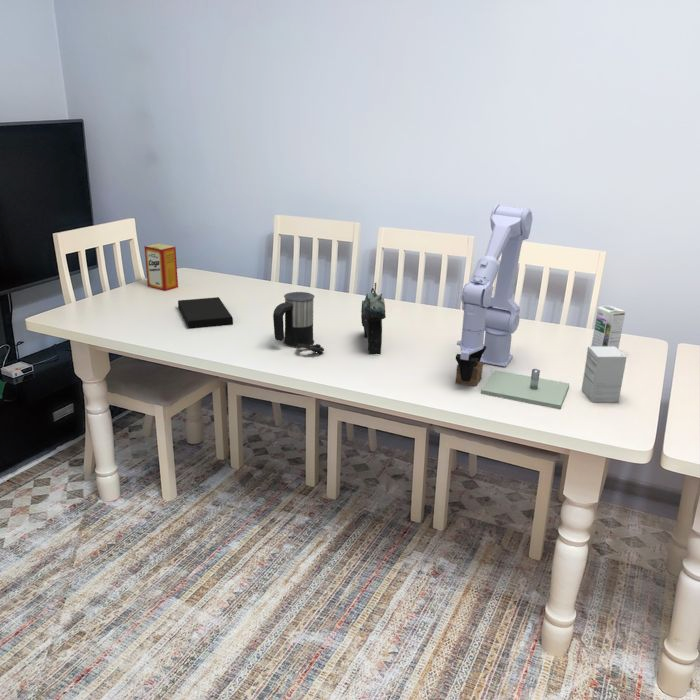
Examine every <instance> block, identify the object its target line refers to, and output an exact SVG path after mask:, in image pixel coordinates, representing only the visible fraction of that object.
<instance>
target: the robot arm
mask: <svg viewBox="0 0 700 700" xmlns="http://www.w3.org/2000/svg"><path fill="white" fill-rule="evenodd" d="M489 221H490V227H491V228H490V229H491V231H492V232H491V235H490V239H489V241H488V244H487V248H486V251H485V255H484V256H483V257H480V258H479V259H478V261H477V263H476V265H475V268H474V270H473V273H472V275H471V279H470V280H469V282H468V283H466V284H464V286H463V288H462V289H461V290H462V291H461V296H460V300H461V304H462V305H461V307H462V308H461V309H462V311H463V316H462V317H463V318H462V329H461V340H457V341H456V345H457V346H460V353H457V354H456V355H455V361H456V362H457V365H459V369H460V375H461V380H462V381H467V382H469V381H470V379H471V375H472V371H473V368H474V365H475V363H476V361H480V362H483V364H487V365H493V366H497V367H505V368H506V367H507V366H508V365H509V363H510V362H511V360H512V358H513V357H514V354H511V344H512V337H513V336H512V334H514V333H515V332H516V331H517V330H518V327H519V325H520V309H521V308H520V306H519V305H518V304H517V302H515V300H514V299H513V294H514V287H515V283H516V276H517V271H518V266H519V260H520V256H521V249H522V246H523V245H522V244H523V243H524V242H523V241H525V240H528V239H529V238H530V235H531V234H530V233H531V229H532V226H533V225H532V223H533V212H532V210H531V209H530V208H528V207H527V208H526V207H525V208H524V207H523V208H522V207H515V206H506V205H500V204H496V205H495V206H494V207H492V210H491V213H490V219H489ZM499 260H500V261H499ZM496 278H497V279H496ZM495 280H496V285H495V289H494V283H495ZM493 291H494V295H493ZM492 296H493V297H492Z"/></svg>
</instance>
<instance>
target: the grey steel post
mask: <svg viewBox="0 0 700 700" xmlns="http://www.w3.org/2000/svg"><path fill="white" fill-rule="evenodd" d="M540 374H541V369H537V368H533V369H531V374H530V376H531V382H530V389H533V390H537V389H538V382H539V378H540Z"/></svg>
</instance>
